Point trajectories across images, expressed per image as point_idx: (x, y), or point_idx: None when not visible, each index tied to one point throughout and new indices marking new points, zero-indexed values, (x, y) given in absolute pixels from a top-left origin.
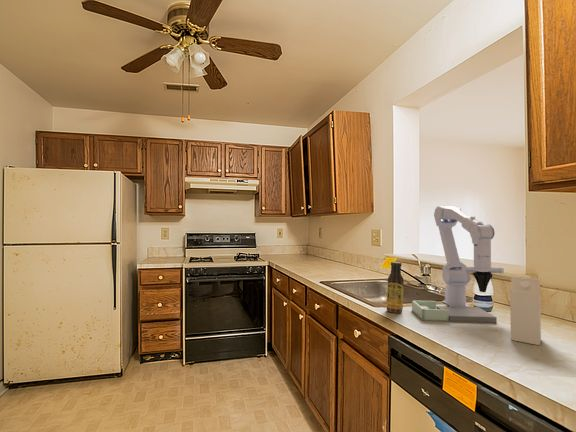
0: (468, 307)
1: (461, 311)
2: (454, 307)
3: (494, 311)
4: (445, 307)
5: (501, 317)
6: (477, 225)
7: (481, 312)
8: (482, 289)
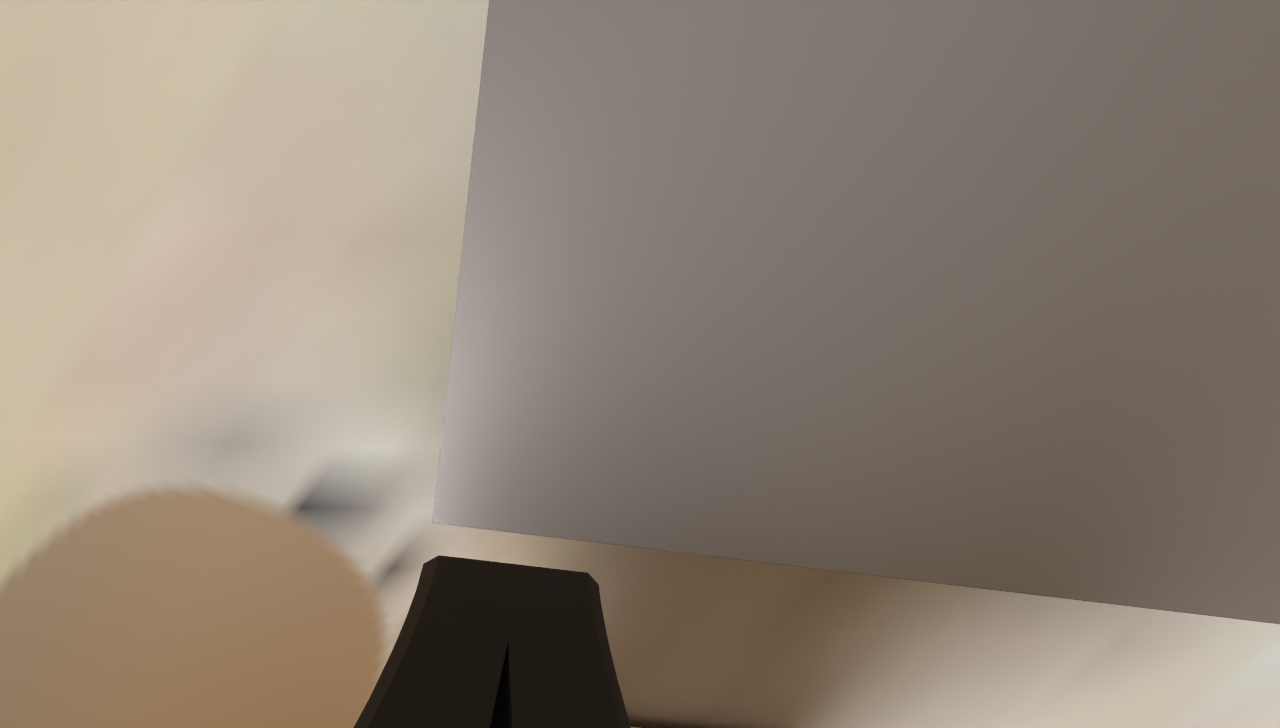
0: (684, 516)
1: (1170, 212)
2: (1029, 527)
3: (26, 483)
4: (1242, 537)
5: (85, 40)
6: None
7: (671, 89)
8: (590, 660)
